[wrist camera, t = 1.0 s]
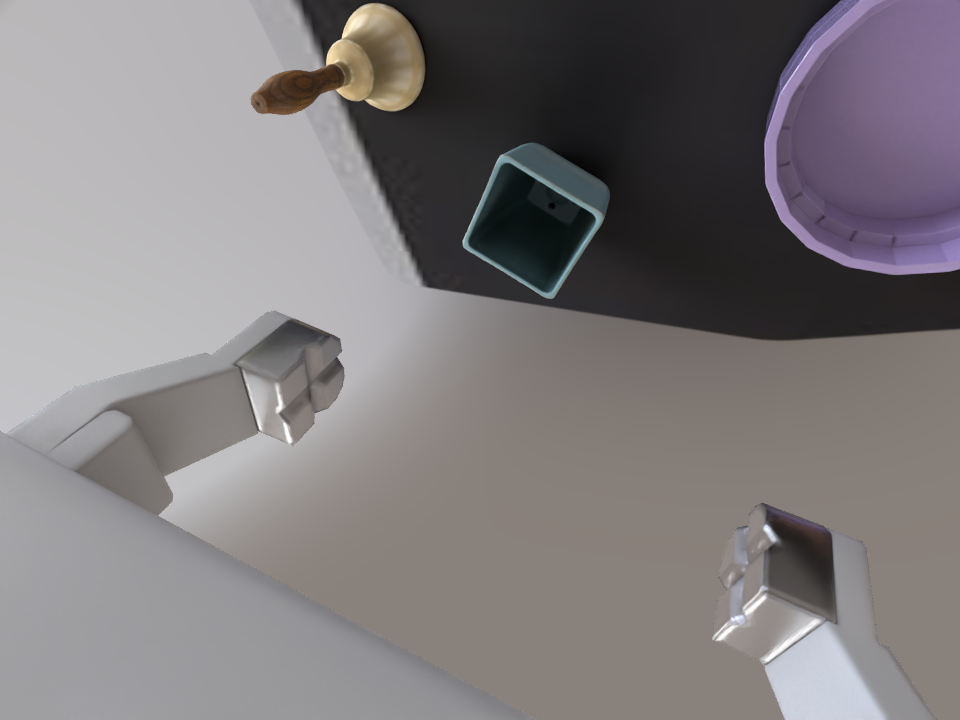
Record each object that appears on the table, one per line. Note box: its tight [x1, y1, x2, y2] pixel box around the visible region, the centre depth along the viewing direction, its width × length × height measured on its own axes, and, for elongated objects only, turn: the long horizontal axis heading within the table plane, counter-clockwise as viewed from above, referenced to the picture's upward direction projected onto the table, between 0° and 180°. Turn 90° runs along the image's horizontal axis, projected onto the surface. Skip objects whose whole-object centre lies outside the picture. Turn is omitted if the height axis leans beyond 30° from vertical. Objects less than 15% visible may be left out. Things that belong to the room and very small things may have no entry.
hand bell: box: [251, 3, 425, 115], centre depth 41 cm, size 8×8×16 cm
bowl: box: [765, 0, 960, 275], centre depth 32 cm, size 17×17×6 cm
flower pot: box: [463, 143, 610, 299], centre depth 44 cm, size 9×9×9 cm
